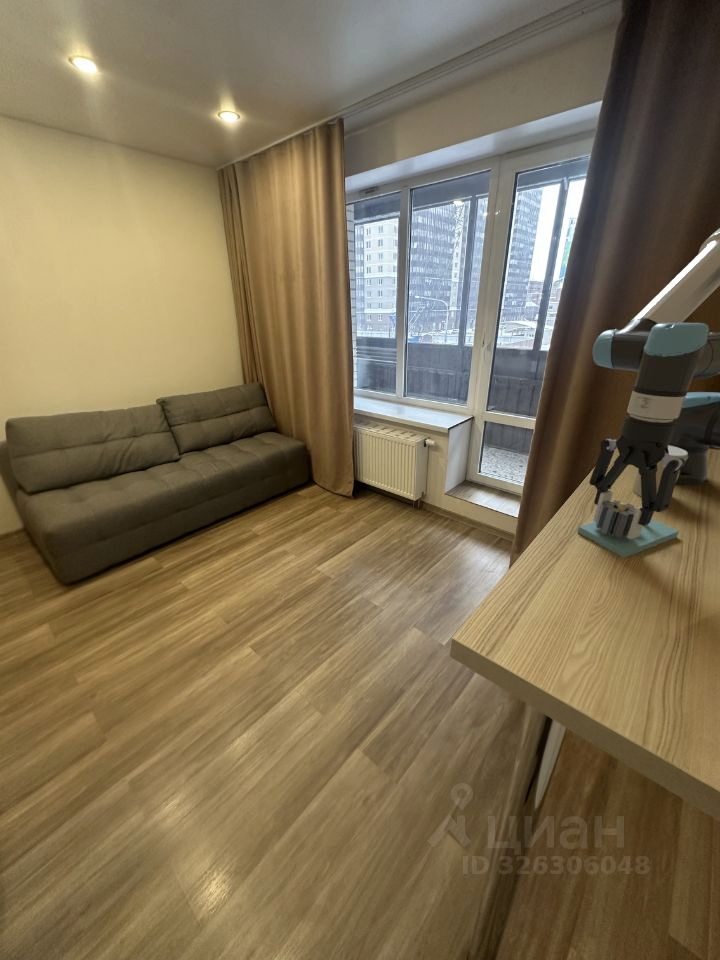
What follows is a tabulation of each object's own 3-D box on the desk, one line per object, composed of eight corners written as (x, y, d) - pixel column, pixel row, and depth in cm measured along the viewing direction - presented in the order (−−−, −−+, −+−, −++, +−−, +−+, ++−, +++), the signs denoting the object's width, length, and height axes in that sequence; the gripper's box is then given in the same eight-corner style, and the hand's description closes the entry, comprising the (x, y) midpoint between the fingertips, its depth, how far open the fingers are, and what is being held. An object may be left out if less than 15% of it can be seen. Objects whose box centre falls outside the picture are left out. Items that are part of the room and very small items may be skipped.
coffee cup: (680, 503, 92) (698, 457, 87) (637, 499, 93) (653, 454, 88) (660, 486, 100) (676, 444, 95) (622, 484, 102) (635, 442, 97)
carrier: (628, 515, 86) (639, 482, 83) (676, 537, 78) (691, 501, 74) (577, 532, 80) (586, 497, 76) (623, 558, 72) (637, 519, 68)
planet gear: (609, 518, 80) (615, 498, 78) (640, 533, 74) (648, 511, 72) (588, 525, 77) (595, 503, 75) (619, 541, 72) (627, 518, 70)
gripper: (586, 407, 73) (561, 510, 83) (702, 434, 57) (654, 559, 67) (611, 403, 76) (584, 504, 85) (729, 428, 60) (679, 548, 69)
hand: (615, 527), depth 76 cm, fingers closed on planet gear, 6 cm apart
